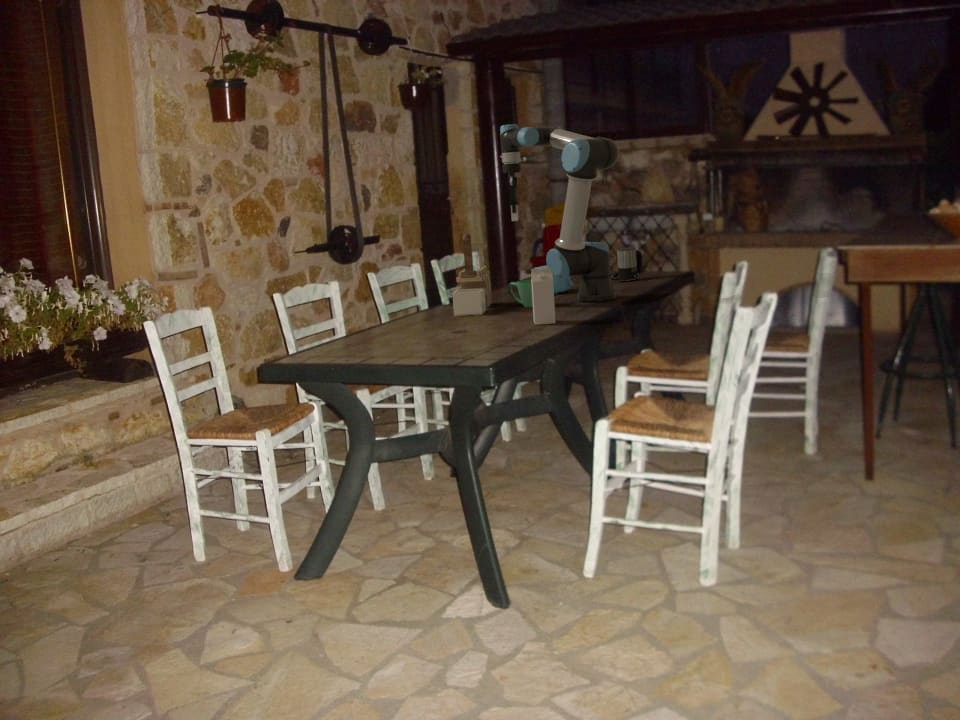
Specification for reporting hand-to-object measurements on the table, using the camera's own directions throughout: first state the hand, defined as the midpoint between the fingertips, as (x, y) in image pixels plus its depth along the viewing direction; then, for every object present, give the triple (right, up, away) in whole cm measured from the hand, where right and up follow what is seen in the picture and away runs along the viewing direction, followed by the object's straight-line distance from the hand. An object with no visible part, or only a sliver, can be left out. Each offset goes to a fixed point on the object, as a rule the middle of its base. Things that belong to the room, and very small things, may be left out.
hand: (515, 220), depth 398 cm
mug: (+3, -37, -20) cm, 42 cm away
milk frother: (+51, -21, +42) cm, 70 cm away
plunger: (-19, -26, -27) cm, 42 cm away
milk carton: (+8, -45, -64) cm, 79 cm away
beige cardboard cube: (-18, -40, -29) cm, 53 cm away
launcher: (-16, -37, -15) cm, 43 cm away
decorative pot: (+17, -29, +15) cm, 37 cm away
